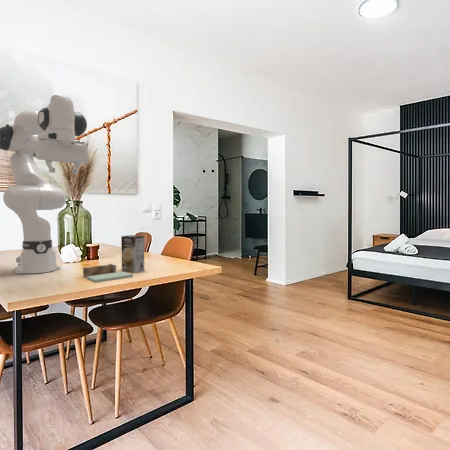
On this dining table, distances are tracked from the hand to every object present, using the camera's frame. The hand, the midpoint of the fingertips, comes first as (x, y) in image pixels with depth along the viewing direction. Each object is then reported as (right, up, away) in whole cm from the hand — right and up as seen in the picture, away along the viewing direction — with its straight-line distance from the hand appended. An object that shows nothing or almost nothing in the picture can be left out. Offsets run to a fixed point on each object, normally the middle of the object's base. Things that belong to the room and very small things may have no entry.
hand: (63, 173), depth 141 cm
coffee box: (+21, -42, +25) cm, 53 cm away
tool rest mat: (+16, -42, +8) cm, 46 cm away
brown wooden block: (+9, -42, +14) cm, 45 cm away
